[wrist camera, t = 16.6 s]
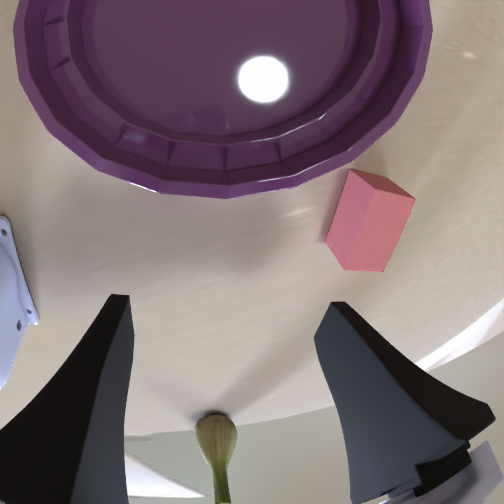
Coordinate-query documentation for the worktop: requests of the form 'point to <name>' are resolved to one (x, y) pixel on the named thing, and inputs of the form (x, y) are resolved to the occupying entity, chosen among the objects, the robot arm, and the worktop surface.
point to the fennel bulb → (217, 450)
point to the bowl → (220, 85)
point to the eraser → (368, 221)
